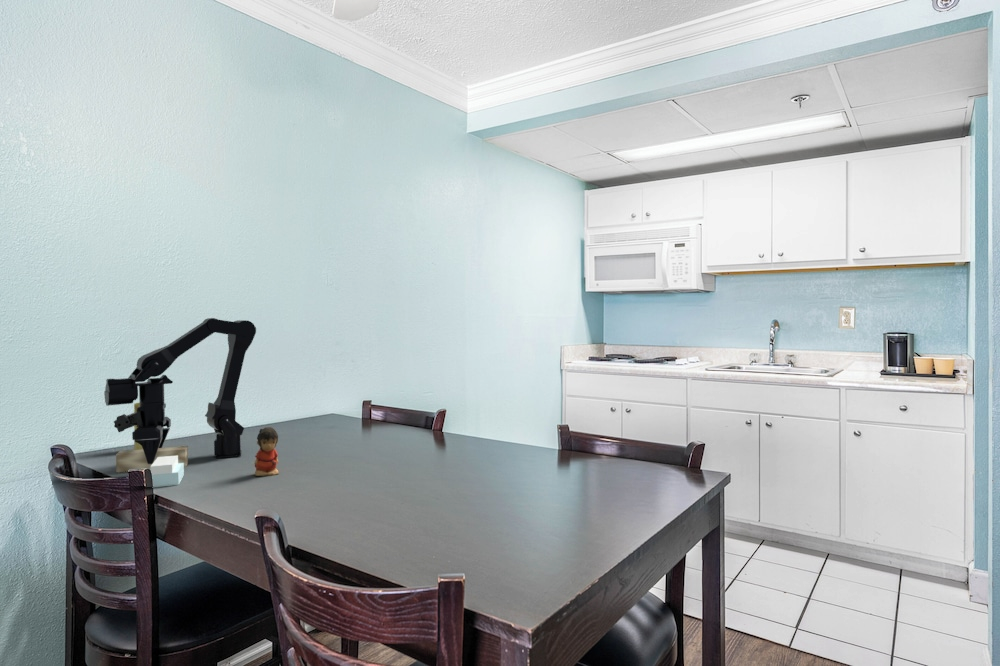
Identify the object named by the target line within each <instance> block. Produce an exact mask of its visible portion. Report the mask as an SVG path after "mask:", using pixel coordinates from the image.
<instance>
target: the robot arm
mask: <svg viewBox="0 0 1000 666" xmlns="http://www.w3.org/2000/svg"><path fill="white" fill-rule="evenodd" d="M214 333H217V334H222V335H227V344H228V353H227V357H226V361H225V365H224V369H223V374H222V377H221V382H220V386H219V389H218V396H217V397H216V399H215V401H214V402H208V404H207V411H206V414H205V415H204V417H205V418H206V423H207V424H208V426H209V427H210V428H212V429H213V430H214V434H215V433H216V435H215V439H214V441H213V444H214V445H213V448H214V449H213V450H214V456H215V459H223V458H234V457H242V453H243V452H242V439H241V438H242V437H241V436H242V435H243V433H244V431H245V428H244V426H242V425H241V424H240V423H239V422H238V421H236V414H237V413H236V411H237V410H236V403H235V399H236V394H237V390H238V386H239V381H240V377H241V374H242V368H243V365H244V360H245V355H246V352H247V351H248V349H249V348H250V347H251V345H252V343H253V342H254V341H253V340H254V338H255V335H256V333H257V328H256V326H255V324H254V323H253V322H252V321H249V320H241V319H239V320H234V321H231V320H230V321H229V320H224V319H223V320H222V319H218V318H215V317H210V318H208V317H207V318H205V319H204V320H203V321H202V322H201V323H199V324H198V325H196V326H194V327H193V328H191V329H190V330H188V331H187V332H185V333H184V334H183V335H181V336H180V337H178V338H176V339H175V340H173V341H172V342H169V344H167V345H165V346H163V347H160V348H158V349H154V350H151V351H150V352H147V353H146V354H143V355H141V356H140V357H139V358H138V359H137V361H136V368H134V369H133V371H132V372H131V374H130V375H129V376H128V377H127V378H107V379H106V384H105V387H104V388H105V389H104V402H105V406H107V407H108V406H109V407H110V406H117V405H119V406H120V405H129V404H133V403H134V401H136V400H138V397H139V402H138V403H140V406H139V407H138V408H137V412H135V413H134V412H133V413H130V414H125V413H124V414H121V415H118V416H116V419H115V420H113V423H114V425H113V427H114V428H116V429H117V431H118V433H122V432H124V431H125V430H127V429H130V428H133V427H134V426H135V425H137V427H138V428H137V429H136V430H135V431H132V433H131V434H132V441H135V442H137V443H139V444H140V445H141V446H142V448H143V450H144V453H145V457H146V460H147V463H148V464H153V462H154V459H155V456H156V454H157V451H158V448H164V447H163V446H164V444H165V441H166V439H167V436H168V434H169V432H170V430H171V429H170V428H171V426H172V419H171V418H170V417H168V416H166V413H165V411H166V407H167V406H166V405H167V404H166V403H165V385H167V384H168V385H169V384H173V382H174V381H173V380H172V379H170V378H169V377H168V376H167V375H166V374H164V373H165V372H166V371H167V370H168V369H169V368H170V367H171V366H172V365H173V363H175V361H176V360H177V359H178V358H179V357H181V356H182V355H183V354H184V353H186V352H187V351H189V350H191V349H192V348H193V347H195V346H196V345H198V344H199V343H201V342H202V341H204V340H205V339H206V338H209V337H210V336H212V335H213V334H214ZM158 376H160V377H158ZM151 377H152V378H151Z"/></svg>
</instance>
